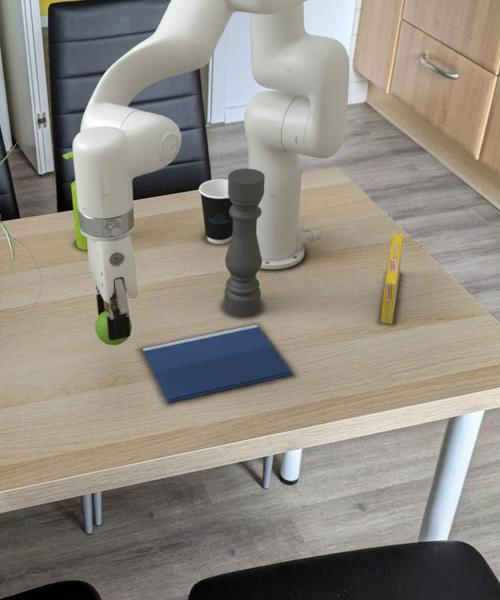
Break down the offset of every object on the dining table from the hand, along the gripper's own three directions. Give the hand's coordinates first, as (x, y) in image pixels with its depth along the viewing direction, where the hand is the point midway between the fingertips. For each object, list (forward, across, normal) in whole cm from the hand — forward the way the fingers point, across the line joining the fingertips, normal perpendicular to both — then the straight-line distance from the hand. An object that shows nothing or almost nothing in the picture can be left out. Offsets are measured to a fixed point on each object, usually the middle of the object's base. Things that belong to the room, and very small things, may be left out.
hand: (114, 325), depth 123 cm
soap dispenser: (+11, +44, -6) cm, 46 cm away
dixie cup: (+11, +37, -31) cm, 50 cm away
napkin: (+11, 0, -16) cm, 20 cm away
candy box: (+11, +7, -51) cm, 53 cm away
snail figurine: (+3, +1, 0) cm, 3 cm away
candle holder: (+11, +13, -26) cm, 31 cm away
